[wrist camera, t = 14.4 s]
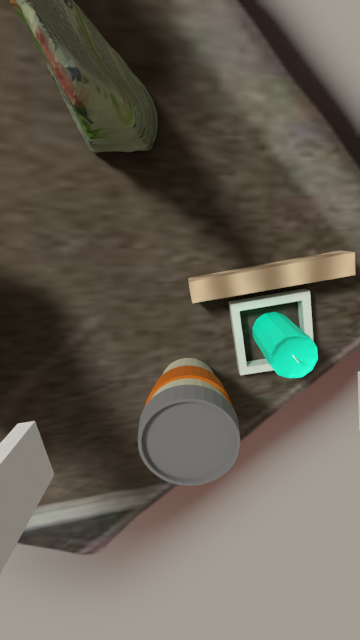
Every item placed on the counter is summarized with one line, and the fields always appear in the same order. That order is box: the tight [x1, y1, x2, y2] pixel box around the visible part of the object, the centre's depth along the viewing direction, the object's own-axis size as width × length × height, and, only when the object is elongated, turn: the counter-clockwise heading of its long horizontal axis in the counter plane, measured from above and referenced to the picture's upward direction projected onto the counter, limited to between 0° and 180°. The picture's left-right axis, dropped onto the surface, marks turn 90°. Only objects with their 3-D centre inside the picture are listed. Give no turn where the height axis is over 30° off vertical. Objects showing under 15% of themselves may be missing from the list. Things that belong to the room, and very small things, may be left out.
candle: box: [252, 312, 318, 378], centre depth 42 cm, size 6×6×12 cm
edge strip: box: [188, 251, 355, 303], centre depth 43 cm, size 22×3×4 cm, turn 100°
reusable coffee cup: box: [138, 358, 240, 486], centre depth 43 cm, size 13×12×15 cm
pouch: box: [10, 0, 158, 153], centre depth 28 cm, size 11×12×25 cm
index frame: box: [228, 288, 314, 375], centre depth 47 cm, size 11×11×2 cm
